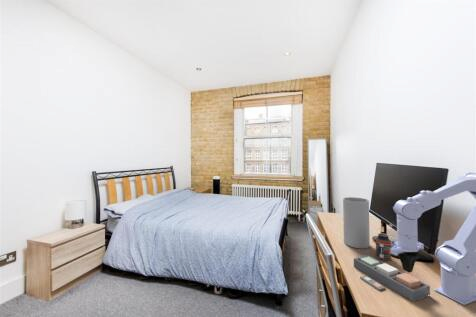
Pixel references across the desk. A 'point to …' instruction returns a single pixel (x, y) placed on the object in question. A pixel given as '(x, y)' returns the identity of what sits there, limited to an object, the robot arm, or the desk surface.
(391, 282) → the grey divided tray
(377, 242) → the supplement bottle
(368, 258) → the sage key
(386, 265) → the white key
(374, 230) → the desk surface
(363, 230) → the cylinder vase
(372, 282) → the card
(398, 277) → the terracotta key
